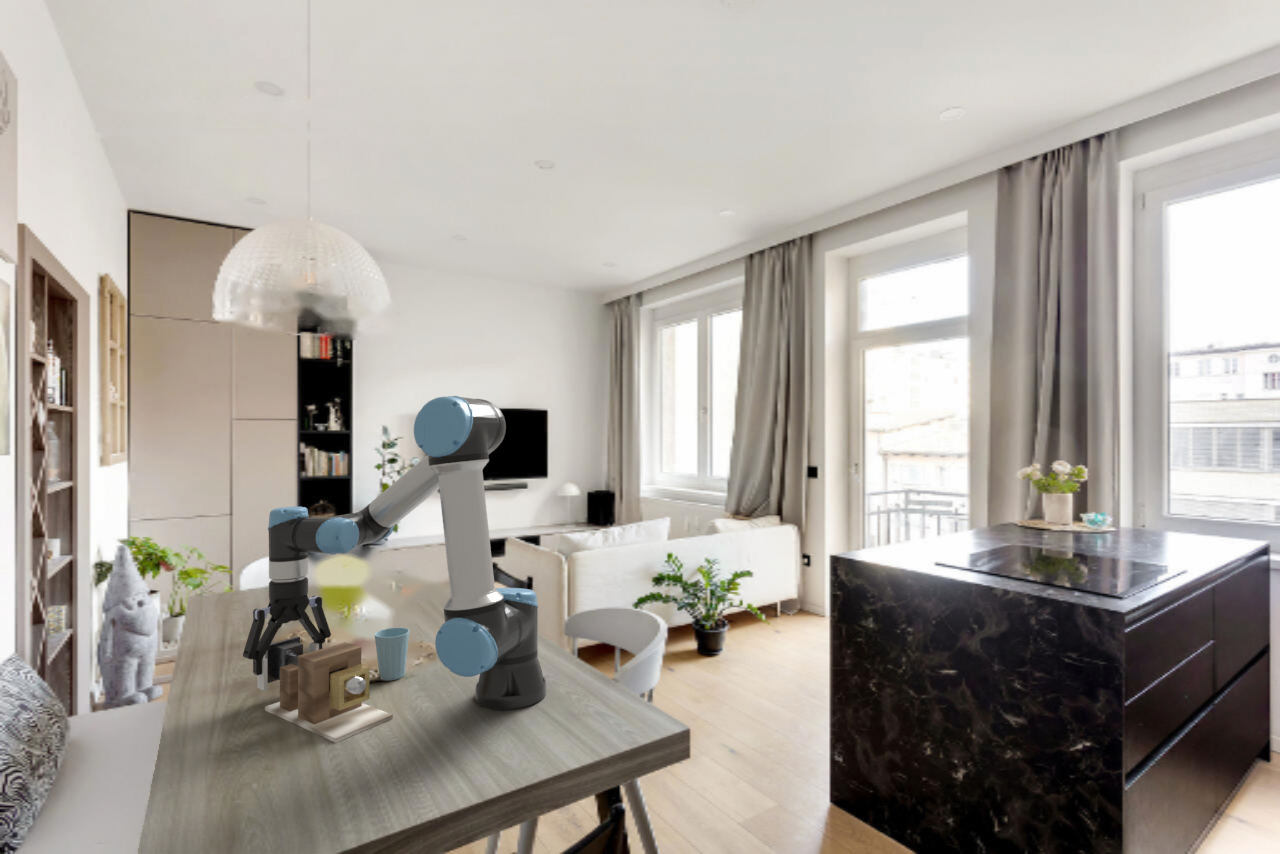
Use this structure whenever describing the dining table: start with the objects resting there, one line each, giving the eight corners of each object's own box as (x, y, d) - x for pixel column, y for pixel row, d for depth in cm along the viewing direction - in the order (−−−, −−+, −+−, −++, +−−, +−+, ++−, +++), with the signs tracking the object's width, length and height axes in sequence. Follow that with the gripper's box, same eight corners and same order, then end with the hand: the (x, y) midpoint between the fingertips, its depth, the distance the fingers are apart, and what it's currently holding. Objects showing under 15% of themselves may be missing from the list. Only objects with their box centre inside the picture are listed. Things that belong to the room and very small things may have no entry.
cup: (411, 679, 149) (410, 634, 150) (375, 684, 146) (375, 639, 147) (408, 668, 156) (408, 625, 157) (374, 673, 153) (374, 630, 153)
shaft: (375, 700, 128) (375, 660, 128) (342, 713, 122) (342, 671, 122) (297, 671, 144) (297, 636, 144) (265, 682, 138) (265, 644, 138)
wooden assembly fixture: (392, 718, 129) (392, 653, 129) (335, 742, 119) (335, 672, 119) (321, 690, 143) (320, 632, 143) (265, 710, 133) (264, 647, 133)
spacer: (369, 699, 128) (369, 667, 128) (339, 710, 123) (339, 677, 123) (360, 695, 130) (360, 664, 130) (330, 707, 125) (330, 674, 125)
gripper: (329, 567, 151) (329, 661, 151) (222, 586, 132) (223, 694, 132) (347, 570, 147) (348, 667, 147) (240, 591, 128) (240, 702, 128)
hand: (289, 680), depth 139 cm, fingers open, 10 cm apart
